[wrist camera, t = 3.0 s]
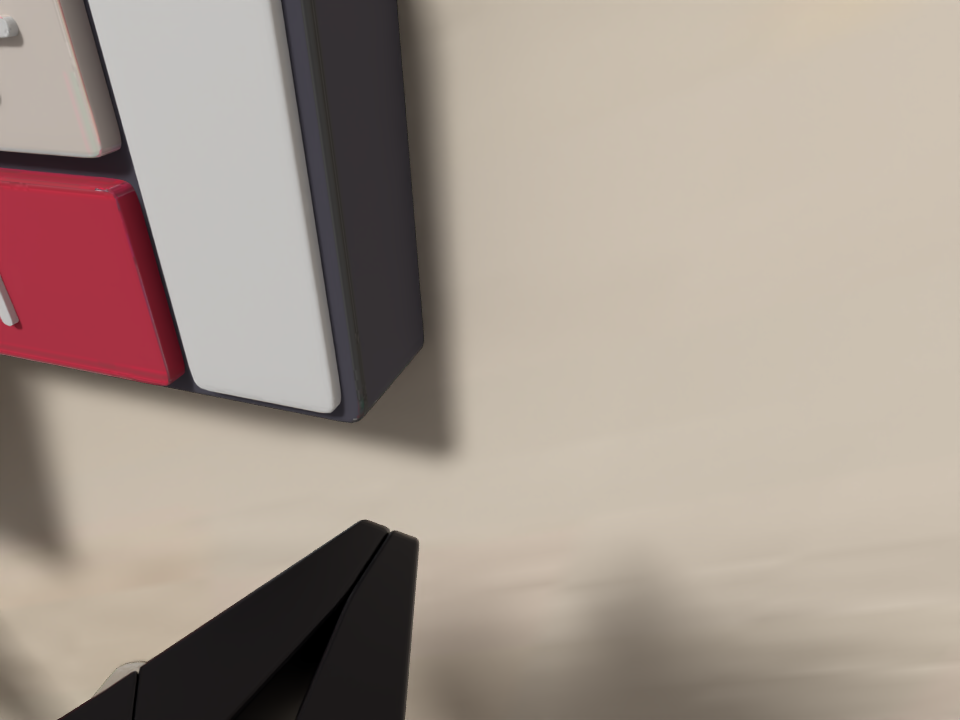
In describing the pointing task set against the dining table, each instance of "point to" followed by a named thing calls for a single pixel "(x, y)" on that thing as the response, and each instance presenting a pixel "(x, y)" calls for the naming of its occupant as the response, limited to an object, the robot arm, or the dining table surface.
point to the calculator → (210, 197)
